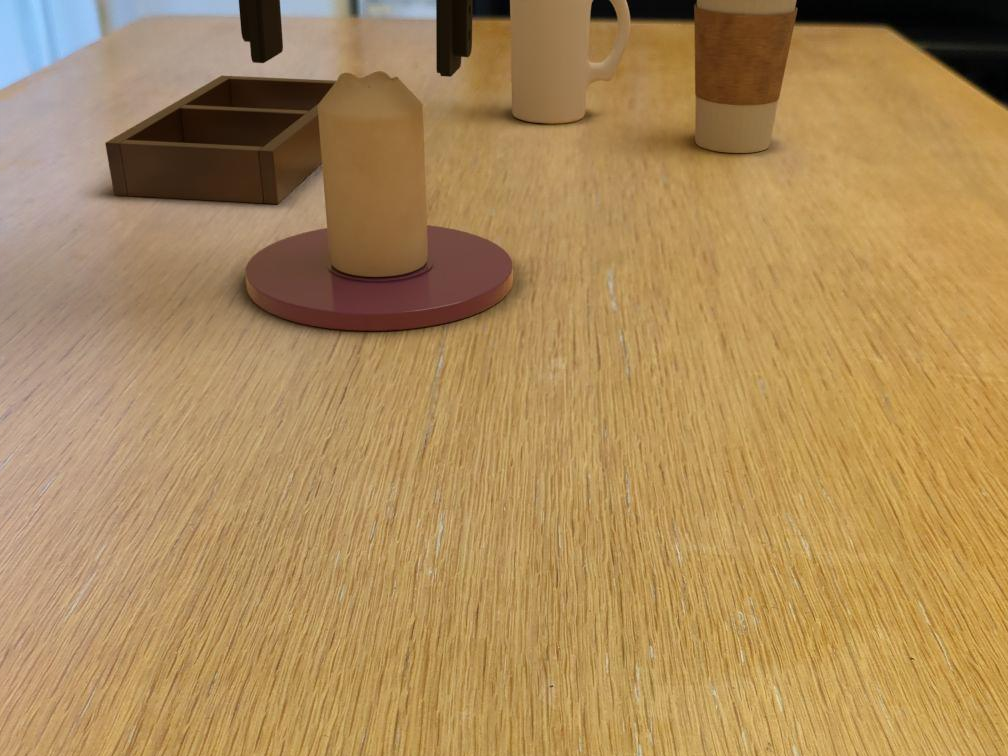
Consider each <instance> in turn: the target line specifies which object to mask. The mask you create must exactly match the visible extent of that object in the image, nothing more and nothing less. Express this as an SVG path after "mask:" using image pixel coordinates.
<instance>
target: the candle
mask: <svg viewBox="0 0 1008 756" xmlns="http://www.w3.org/2000/svg"><path fill="white" fill-rule="evenodd" d="M335 81H336V82H335V84H334V85H333V86H332V88H331V89H330V90H329V91H328V93H327V94H326V95H325V97H324V98H323V99H322V100H321V102H320V103H319V104H318V119H319V131H320V144H321V156H322V163H321V167H322V169H321V170H322V180H323V192H324V205H325V219H326V228H327V232H328V244H329V254H330V260H331V264H332V266H333V267H334V268H336V269H337V270H339V271H341V272H344V273H347V274H351V275H357V276H366V277H386V276H395V275H401V274H406V273H409V272H413V271H415V270H417V269H419V268H421V267H423V266H424V265H425V264H426V262H427V256H428V242H427V225H428V220H427V219H428V218H427V217H428V216H427V214H428V213H427V190H426V189H427V188H426V185H427V184H426V160H425V157H426V156H425V129H424V105H423V103H422V101H421V100H419V98H418V97H417V96H416V95H415V94H414V93H413V91H411V89H409V87H408V86H407V85H406V84H405V83H404V82H403V81H402V80H401V79H400V77H398V76H394V77H391V76H390V75H389V74H388V73H387V72H385V71H381V70H377V71H373V72H372V73H369V74H368V75H366V76H363V77H358V76H356V75H355V74H352V73H351V72H342V73H340V74H339V76H338V78H337V79H336V80H335Z"/></svg>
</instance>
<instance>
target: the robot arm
mask: <svg viewBox="0 0 1008 756" xmlns="http://www.w3.org/2000/svg"><path fill="white" fill-rule="evenodd" d="M473 3H474V2H473V0H435V4H436V5H435V29H436V30H435V31H436V32H435V33H436V34H435V37H436V38H435V39H436V40H435V41H436V42H435V47H436V48H435V49H436V51H435V52H436V56H435V57H436V59H435V62H436V73H437V74H440V75H439V76H441V77H449V78H451V77H453V76H454V74H455V73H456V72H457V71H458V70H460V68H461V67H462V58H470V56H471V55H472V49H473ZM238 9H239V10H238V11H239V20H240V21H239V23H240V33H241V38H242V40H243V42H246V43H249V48H250V58H251V62H252V63H254V64H255V63H256V64H265V63H266V62H268V61H270V60H272V59H274V58H275V57H276V56H278V55H280V54H281V53H283V50H284V41H283V40H284V39H283V24H282V11H281V0H238Z"/></svg>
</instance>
